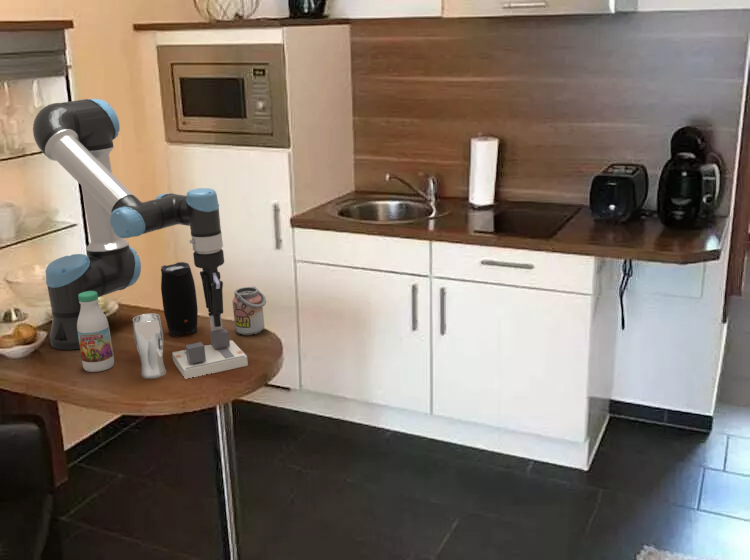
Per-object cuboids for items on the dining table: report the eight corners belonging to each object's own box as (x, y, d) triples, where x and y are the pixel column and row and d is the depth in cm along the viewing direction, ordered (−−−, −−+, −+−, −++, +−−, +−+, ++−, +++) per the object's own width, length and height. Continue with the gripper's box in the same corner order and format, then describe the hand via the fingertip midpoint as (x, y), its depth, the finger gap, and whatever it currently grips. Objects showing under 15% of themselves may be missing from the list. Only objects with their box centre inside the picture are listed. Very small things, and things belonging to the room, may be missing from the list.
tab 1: (187, 359, 208) (185, 345, 207) (202, 356, 210) (201, 341, 208) (190, 364, 205) (188, 349, 204) (205, 360, 207) (204, 345, 206)
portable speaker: (198, 336, 232) (190, 269, 226) (164, 338, 231) (155, 271, 225) (201, 325, 240) (194, 260, 234) (169, 327, 239) (160, 262, 233)
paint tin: (273, 328, 235) (270, 287, 231) (256, 338, 228) (252, 297, 224) (247, 324, 239) (243, 284, 236) (229, 334, 232) (225, 293, 228)
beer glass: (139, 381, 204) (131, 324, 199) (139, 370, 210) (131, 315, 206) (168, 377, 206) (161, 320, 201) (167, 366, 212) (160, 311, 207)
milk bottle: (82, 364, 216) (71, 291, 210) (113, 358, 219) (102, 286, 213) (84, 375, 209) (71, 300, 203) (115, 369, 212) (104, 295, 206)
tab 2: (211, 345, 216) (210, 331, 215) (226, 342, 218) (225, 328, 217) (215, 349, 214) (213, 335, 213) (230, 346, 215) (228, 331, 214)
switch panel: (173, 361, 215) (171, 352, 214) (232, 348, 221) (232, 339, 221) (185, 379, 204) (184, 369, 203) (247, 365, 210) (247, 356, 209)
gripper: (187, 246, 215) (197, 332, 222) (200, 258, 204) (210, 347, 211) (215, 242, 218) (224, 326, 225) (229, 253, 207) (238, 341, 214)
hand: (217, 336), depth 218 cm, fingers closed
